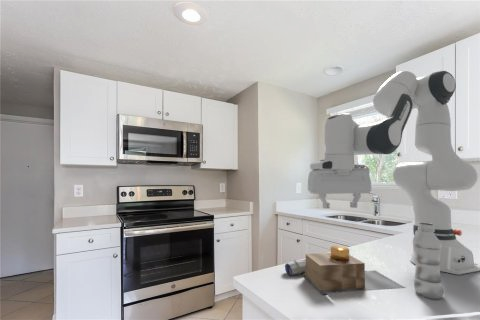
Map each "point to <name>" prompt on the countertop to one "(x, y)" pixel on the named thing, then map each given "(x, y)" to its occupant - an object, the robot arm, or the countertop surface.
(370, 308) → the countertop surface
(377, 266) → the countertop surface
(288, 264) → the white handheld device
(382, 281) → the hitch block
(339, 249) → the brass knob
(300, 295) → the countertop surface
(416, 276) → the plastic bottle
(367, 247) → the countertop surface
